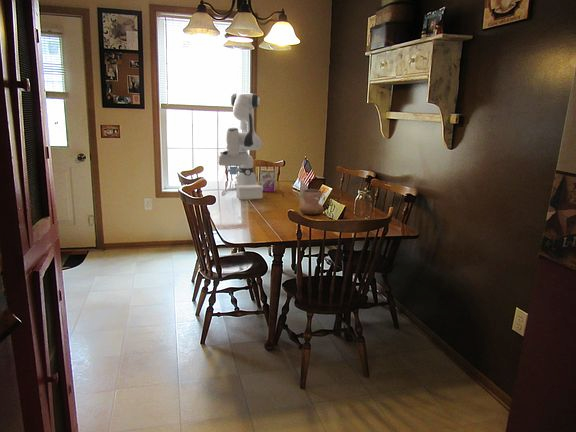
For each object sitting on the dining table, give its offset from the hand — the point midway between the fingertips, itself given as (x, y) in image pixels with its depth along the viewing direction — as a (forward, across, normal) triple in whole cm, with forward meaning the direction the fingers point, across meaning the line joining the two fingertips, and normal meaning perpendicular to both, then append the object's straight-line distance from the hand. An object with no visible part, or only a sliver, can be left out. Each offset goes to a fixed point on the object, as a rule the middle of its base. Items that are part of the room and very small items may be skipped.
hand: (233, 171), depth 311 cm
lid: (+11, -9, +10) cm, 18 cm away
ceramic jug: (+18, -37, +61) cm, 74 cm away
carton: (+17, -10, +9) cm, 22 cm away
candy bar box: (+18, -27, -11) cm, 34 cm away
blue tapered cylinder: (+2, 0, 0) cm, 2 cm away
